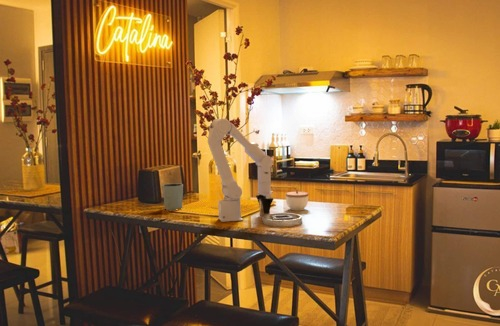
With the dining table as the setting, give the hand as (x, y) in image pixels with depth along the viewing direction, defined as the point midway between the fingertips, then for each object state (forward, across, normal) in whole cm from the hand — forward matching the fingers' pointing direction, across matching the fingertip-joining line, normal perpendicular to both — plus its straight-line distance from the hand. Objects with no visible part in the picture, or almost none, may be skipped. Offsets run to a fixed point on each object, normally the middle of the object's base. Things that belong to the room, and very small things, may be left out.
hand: (264, 212), depth 227 cm
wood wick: (+2, 0, 0) cm, 2 cm away
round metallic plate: (+2, -14, -4) cm, 15 cm away
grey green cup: (+2, +32, +38) cm, 50 cm away
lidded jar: (+2, +12, -19) cm, 23 cm away
